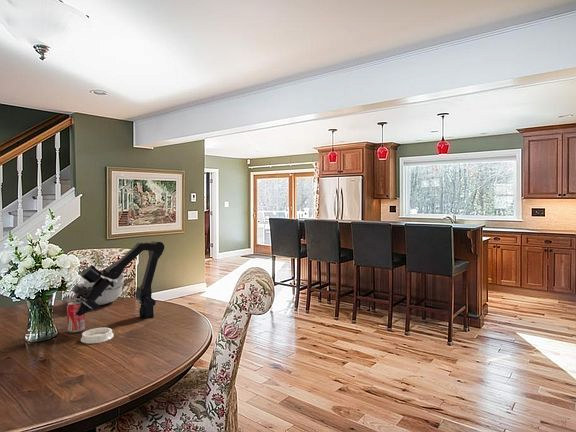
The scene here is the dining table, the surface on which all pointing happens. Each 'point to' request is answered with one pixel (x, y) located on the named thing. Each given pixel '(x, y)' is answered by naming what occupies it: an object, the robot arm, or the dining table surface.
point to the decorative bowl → (109, 292)
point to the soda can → (75, 317)
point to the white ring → (97, 335)
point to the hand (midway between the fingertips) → (72, 316)
